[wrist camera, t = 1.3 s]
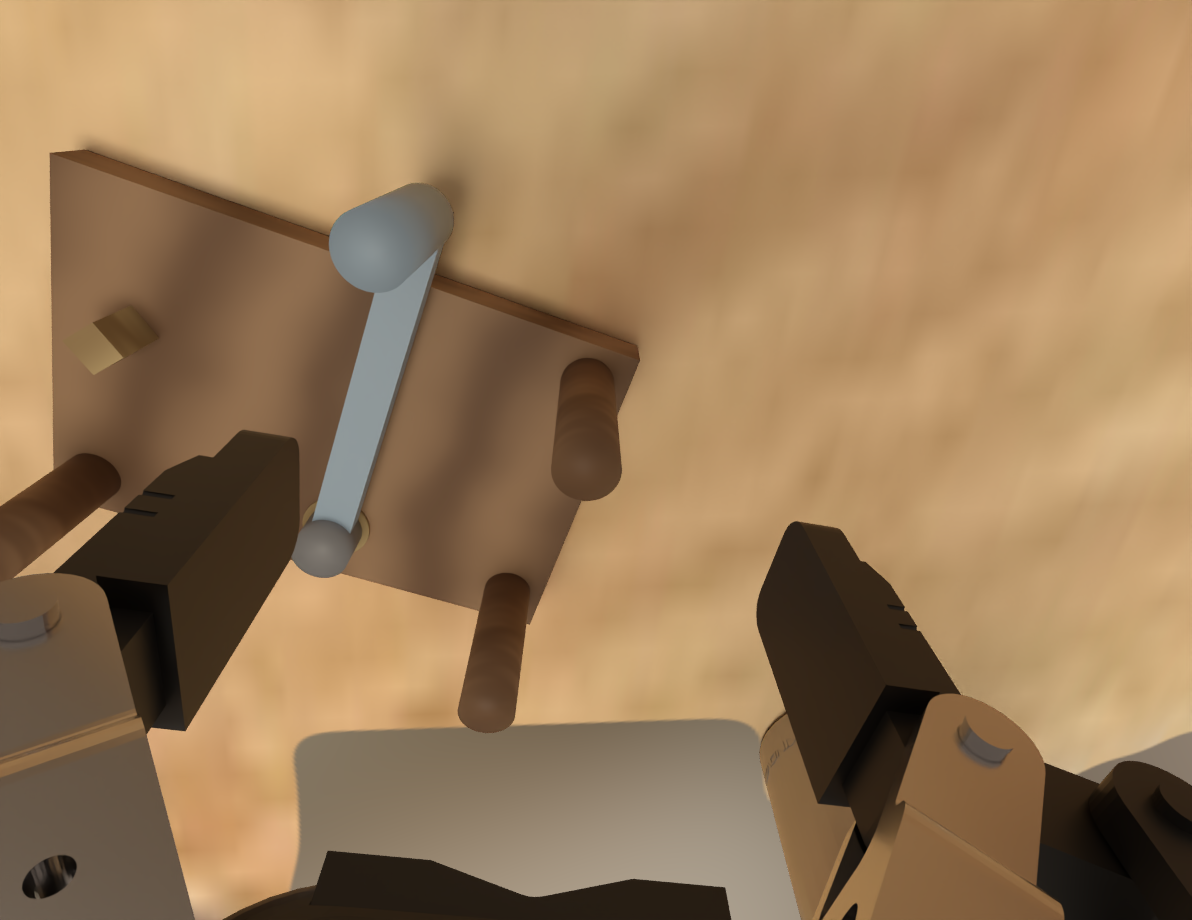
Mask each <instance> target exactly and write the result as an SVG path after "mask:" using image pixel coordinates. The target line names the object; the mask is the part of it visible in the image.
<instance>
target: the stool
mask: <svg viewBox="0 0 1192 920" xmlns="http://www.w3.org/2000/svg"><path fill="white" fill-rule="evenodd" d="M50 214H51V295H52V376H53V457H54V470H53V471H51V472H50V473H49V474H47V475H46V476H44V477H43V478H41V479H40V480H38V481H37V482H35V483H34V484H32V485H31V486H30V487H28V488H27V489H25V490H24V491H22V492H21V493H19V494H18V495H16V496H15V497H13V498H12V499H10V500H9V501H8V502H6V503H5V504H3V505H2V506H0V582H2V581H5V580H9V579H12V578H14V577H15V576H16V575H17V574H18V573H20V572H21V571H22V570H23V569H24V568H26V567H27V566H28V565H29V564H31V563H32V562H33V561H34V560H35V559H37V558H38V557H39V556H40V555H42V554H43V553H44V552H45V551H46V550H48V549H49V548H50V547H51V546H52V545H54V544H55V543H56V542H57V541H59V540H60V539H61V538H62V537H63V536H65V535H66V534H67V533H68V532H70V531H71V530H72V529H73V528H74V527H76V526H77V525H78V524H79V523H80V522H82V521H83V520H84V519H85V518H87V517H88V516H89V515H90V514H91V513H93V512H94V511H95V510H96V509H98V508H103V509H106V510H110V511H114V512H117V513H119V512H124V507H126V506H127V505H128V504H129V503H130V502H131V501H132V500H133V499H134V498H135V497H136V496H138V495H142V494H143V490H144V489H145V488H146V487H147V486H148V485H149V484H151V483H152V482H153V481H154V480H155V479H156V478H157V477H158V476H159V475H160V474H161V473H163V472H164V471H165V470H166V469H169V468H171V467H173V466H175V465H178V464H180V463H182V462H184V461H187V460H189V459H191V458H193V457H196V456H198V455H202V456H208V457H214V456H215V455H216V454H217V453H218V452H219V451H220V450H221V449H222V448H223V447H224V446H225V445H226V444H227V443H228V442H229V441H230V440H231V439H232V438H233V437H234V436H235V435H236V434H237V433H238V432H239V431H241V430H250V431H256V432H263V433H269V434H275V435H281V436H287V437H293V438H295V439H296V440H297V442H298V445H299V461H300V524H299V532H300V531H301V529H302V528H303V526H304V525H305V523H306V522H307V520H308V519H309V517H310V516H311V515H312V513H313V512H314V511H315V509H316V505H317V502H318V498H319V494H320V491H321V487H322V483H323V480H324V476H325V472H326V469H327V465H328V461H329V458H330V454H331V450H332V447H333V443H334V440H335V436H336V432H337V429H338V425H339V421H340V418H341V414H342V410H343V407H344V403H345V399H346V396H347V392H348V388H349V385H350V381H351V377H352V374H353V370H354V366H355V363H356V359H357V356H358V352H359V348H360V345H361V341H362V337H363V334H364V330H365V326H366V323H367V319H368V315H369V312H370V308H371V304H372V301H373V297H374V293H372V292H367V291H364V290H361V289H359V288H357V287H355V286H353V285H352V284H350V283H349V282H348V281H346V280H345V279H344V278H343V277H342V276H341V274H340V273H339V272H338V270H337V269H336V267H335V265H334V263H333V261H332V258H331V255H330V251H329V236H326V235H323V234H321V233H318V232H315V231H312V230H309V229H307V228H304V227H301V226H298V225H295V224H292V223H290V222H287V221H284V220H281V219H278V218H276V217H273V216H270V215H267V214H264V213H262V212H259V211H256V210H253V209H250V208H247V207H245V206H242V205H239V204H236V203H233V202H231V201H228V200H225V199H222V198H219V197H217V196H214V195H211V194H208V193H205V192H202V191H200V190H197V189H194V188H191V187H188V186H186V185H183V184H180V183H177V182H174V181H172V180H169V179H166V178H163V177H160V176H157V175H155V174H152V173H149V172H146V171H143V170H141V169H138V168H135V167H132V166H129V165H126V164H124V163H121V162H118V161H115V160H112V159H110V158H107V157H104V156H101V155H98V154H96V153H93V152H90V151H87V150H77V151H66V152H55V153H50ZM639 362H640V358H639V353H638V348H637V346H636V345H633V344H630V343H627V342H624V341H622V340H619V339H616V338H613V337H610V336H608V335H605V334H602V333H599V332H596V331H593V330H591V329H588V328H585V327H582V326H579V325H577V324H574V323H571V322H568V321H565V320H563V319H560V318H557V317H554V316H551V315H548V314H546V313H543V312H540V311H537V310H534V309H532V308H529V307H526V306H523V305H520V304H518V303H515V302H512V301H509V300H506V299H503V298H501V297H498V296H495V295H492V294H489V293H487V292H484V291H481V290H478V289H475V288H473V287H470V286H467V285H464V284H461V283H458V282H456V281H453V280H450V279H447V278H444V277H442V276H439V275H436V274H434V277H433V280H432V284H431V287H430V290H429V293H428V297H427V300H426V303H425V306H424V309H423V313H422V316H421V319H420V322H419V325H418V329H417V332H416V335H415V338H414V342H413V345H412V348H411V351H410V354H409V358H408V361H407V364H406V367H405V370H404V374H403V377H402V380H401V383H400V386H399V390H398V393H397V396H396V399H395V403H394V406H393V409H392V412H391V415H390V419H389V422H388V425H387V428H386V431H385V435H384V438H383V441H382V444H381V447H380V451H379V454H378V457H377V460H376V464H375V467H374V470H373V473H372V476H371V480H370V483H369V486H368V489H367V492H366V496H365V499H364V502H363V505H362V508H361V512H360V515H359V518H358V521H359V522H360V525H361V528H362V537H361V539H360V541H359V543H358V545H357V547H356V549H355V551H354V553H353V555H352V556H351V558H350V560H349V562H348V564H347V566H346V568H345V569H344V570H343V571H342V572H341V573H342V574H345V575H349V576H353V577H356V578H360V579H364V580H367V581H371V582H375V583H379V584H382V585H386V586H390V587H393V588H397V589H401V590H404V591H408V592H412V593H415V594H419V595H423V596H426V597H430V598H434V599H437V600H441V601H445V602H448V603H452V604H456V605H459V606H463V607H467V608H470V609H474V610H478V611H479V615H478V620H477V624H476V629H475V633H474V638H473V643H472V647H471V652H470V656H469V661H468V665H467V670H466V675H465V679H464V684H463V688H462V693H461V698H460V702H459V707H458V716H459V718H460V720H461V722H462V723H463V724H464V725H466V726H467V727H468V728H470V729H472V730H475V731H478V732H483V733H494V732H499V731H502V730H504V729H506V728H507V727H509V726H510V725H511V724H512V722H513V721H514V718H515V711H516V703H517V695H518V687H519V679H520V671H521V663H522V654H523V646H524V638H525V630H526V624H529V625H530V623H531V620H532V618H533V615H534V613H535V611H536V608H537V606H538V603H539V601H540V599H541V596H542V594H543V591H544V589H545V587H546V584H547V582H548V579H549V577H550V575H551V572H552V570H553V567H554V565H555V563H556V560H557V558H558V556H559V553H560V551H561V548H562V546H563V544H564V541H565V539H566V536H567V534H568V532H569V529H570V527H571V524H572V522H573V520H574V517H575V515H576V512H577V510H578V508H579V505H580V503H581V500H582V501H591V500H597V499H600V498H602V497H604V496H606V495H608V494H609V493H610V492H612V491H613V490H614V489H615V487H616V486H617V485H618V483H619V481H620V478H621V473H622V467H621V455H620V444H619V432H618V420H617V414H618V412H619V410H620V407H621V405H622V402H623V400H624V398H625V395H626V393H627V390H628V388H629V386H630V383H631V381H632V378H633V376H634V374H635V371H636V369H637V366H638V364H639ZM299 532H298V534H299ZM290 560H293V559H292V557H291V559H290Z"/></svg>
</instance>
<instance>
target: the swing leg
mask: <svg viewBox="0 0 1192 920" xmlns="http://www.w3.org/2000/svg"><path fill="white" fill-rule="evenodd" d="M453 213H454V212H453V211H452V208H451V205H450V203H449V202H448V200H447V199H446V197H445V196H444V195H443V194H442V193H441V192H440V191H439V190H437V189H436V188H434V187H432V186H430V185H428V184H424V183H411V184H408V185H405V186H403V187H401V188H398V189H396V190H394V191H392V192H389V193H387V194H385V195H383V196H380V197H378V198H376V199H374V200H371V201H369V202H367V203H365V204H362V205H360V206H358V207H356V208H353V209H351V210H349V211H347V212H345V213H344V214H342V215H341V216H340V217H339V218H338V219H337V220H336V222H335V223H334V225H333V227H332V229H331V232H330V237H329V251H330V255H331V258H332V261H333V263H334V265H335V267H336V269H337V270H338V272H339V273H340V274H341V276H342V277H343V278H344V279H345V280H346V281H348V282H349V283H350V284H352V285H353V286H355V287H357V288H359V289H361V290H364V291H367V292H372V293H374V297H373V301H372V304H371V308H370V312H369V315H368V319H367V323H366V326H365V330H364V334H363V337H362V341H361V345H360V348H359V352H358V356H357V359H356V363H355V366H354V370H353V374H352V377H351V381H350V385H349V388H348V392H347V396H346V399H345V403H344V407H343V410H342V414H341V418H340V421H339V425H338V429H337V432H336V436H335V440H334V443H333V447H332V450H331V454H330V458H329V461H328V465H327V469H326V472H325V476H324V480H323V483H322V487H321V491H320V494H319V498H318V502H317V505H316V509H315V511H314V512H313V513H312V515H311V516H310V517H309V519H308V520H307V522H306V523H305V525H304V526H303V528H302V529H301V531H300V532H299V534H298V538H297V542H296V546H295V549H294V552H293V554H292V559H293V561H294V563H295V564H296V565H297V566H298V567H299V568H300V569H301V570H302V571H304V572H305V573H307V574H309V575H312V576H315V577H320V578H329V577H333V576H336V575H338V574H340V573H341V572H342V571H343V570H344V569H345V568H346V566H347V564H348V562H349V560H350V558H351V556H352V555H353V553H354V551H355V549H356V547H357V545H358V543H359V541H360V539H361V537H362V528H361V525H360V522H359V521H358V518H359V515H360V512H361V508H362V505H363V502H364V499H365V496H366V492H367V489H368V486H369V483H370V480H371V476H372V473H373V470H374V467H375V464H376V460H377V457H378V454H379V451H380V447H381V444H382V441H383V438H384V435H385V431H386V428H387V425H388V422H389V419H390V415H391V412H392V409H393V406H394V403H395V399H396V396H397V393H398V390H399V386H400V383H401V380H402V377H403V374H404V370H405V367H406V364H407V361H408V358H409V354H410V351H411V348H412V345H413V342H414V338H415V335H416V332H417V329H418V325H419V322H420V319H421V316H422V313H423V309H424V306H425V303H426V300H427V297H428V293H429V290H430V287H431V284H432V280H433V277H434V274H435V271H436V268H437V264H438V261H439V258H440V255H441V252H442V248H443V245H444V243H445V242H446V241H447V240H448V239H449V237H450V235H451V233H452V230H453V226H454V216H453Z"/></svg>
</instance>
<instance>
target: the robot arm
mask: <svg viewBox="0 0 1192 920" xmlns="http://www.w3.org/2000/svg"><path fill="white" fill-rule="evenodd" d="M299 524H300V461H299V445H298V442H297V440H296V439H295V438H293V437H287V436H281V435H275V434H269V433H263V432H256V431H250V430H241V431H239V432H238V433H237V434H236V435H235V436H234V437H233V438H232V439H231V440H230V441H229V442H228V443H227V444H226V445H225V446H224V447H223V448H222V449H221V450H220V451H219V452H218V453H217V454H216V455H215V456H214V457H208V456H202V455H198V456H196V457H193V458H191V459H189V460H187V461H184V462H182V463H180V464H178V465H175V466H173V467H171V468H169V469H166V470H165V471H164V472H163V473H161V474H160V475H159V476H158V477H157V478H156V479H155V480H154V481H153V482H152V483H151V484H149V485H148V486H147V487H146V488H145V489H144V490H143V494H142V495H138V496H136V497H135V498H134V499H133V500H132V501H131V502H130V503H129V504H128V505H127V506H126V507H124V512H119V513H118V514H117V515H116V516H115V517H114V518H113V519H111V520H110V521H109V522H108V523H107V524H106V525H105V526H104V527H103V528H102V529H101V530H99V531H98V532H97V533H96V534H95V535H94V536H93V537H92V538H91V539H90V540H89V541H87V542H86V543H85V544H84V545H83V546H82V547H81V548H80V549H79V550H78V551H77V552H76V553H74V554H73V555H72V556H71V557H70V558H69V559H68V560H67V561H66V562H65V563H64V564H62V565H61V566H60V567H59V568H58V569H57V570H56V571H55V572H54V573H45V574H33V575H27V576H21V577H17V578H13V579H9V580H5V581H2V582H0V920H195V918H194V914H193V910H192V907H191V903H190V899H189V895H188V891H187V888H186V884H185V880H184V876H183V872H182V869H181V865H180V861H179V857H178V853H177V850H176V846H175V842H174V838H173V834H172V831H171V827H170V823H169V819H168V815H167V811H166V808H165V804H164V800H163V796H162V792H161V789H160V785H159V781H158V777H157V773H156V770H155V766H154V762H153V758H152V754H151V751H150V747H149V743H148V739H147V735H146V734H147V733H148V731H149V730H150V728H151V727H152V728H161V729H170V730H179V731H186V729H187V728H188V726H189V724H190V723H191V721H192V719H193V718H194V716H195V715H196V713H197V711H198V710H199V708H200V706H201V705H202V703H203V701H204V700H205V698H206V697H207V695H208V693H209V692H210V690H211V688H212V687H213V685H214V684H215V682H216V680H217V679H218V677H219V675H220V674H221V672H222V670H223V669H224V667H225V666H226V664H227V662H228V661H229V659H230V657H231V656H232V654H233V652H234V651H235V649H236V648H237V646H238V644H239V643H240V641H241V639H242V638H243V636H244V634H245V633H246V631H247V630H248V628H249V626H250V625H251V623H252V621H253V620H254V618H255V616H256V615H257V613H258V612H259V610H260V608H261V607H262V605H263V603H264V602H265V600H266V598H267V597H268V595H269V594H270V592H271V590H272V589H273V587H274V585H275V584H276V582H277V580H278V579H279V577H280V576H281V574H282V572H283V571H284V569H285V567H286V566H287V564H288V562H289V561H290V559H291V557H292V554H293V552H294V549H295V546H296V542H297V538H298V532H299ZM904 608H905V607H904V605H903V604H902V602H901V600H900V599H899V597H898V596H897V594H896V593H895V591H894V589H893V588H892V586H891V585H890V584H889V583H888V582H887V581H886V580H885V579H884V578H883V577H882V576H881V575H879V574H878V573H877V572H876V571H875V570H874V569H873V568H872V567H871V566H869V565H868V564H867V563H866V562H862V561H860V560H859V558H858V556H857V555H856V553H855V551H854V550H853V548H852V546H851V545H850V543H849V542H848V540H847V538H846V537H845V535H844V533H843V532H842V531H841V530H840V529H838V528H834V527H828V526H822V525H815V524H809V523H803V522H797V521H796V522H792V523H791V524H790V525H789V526H788V527H787V529H786V531H785V533H784V535H783V538H782V540H781V542H780V545H779V547H778V550H777V552H776V554H775V557H774V559H773V562H772V564H771V567H770V569H769V571H768V574H767V576H766V579H765V581H764V584H763V586H762V588H761V591H760V594H759V598H758V602H757V626H758V630H759V633H760V636H761V639H762V642H763V645H764V648H765V651H766V654H767V657H768V659H769V662H770V665H771V668H772V671H773V674H774V677H775V680H776V683H777V686H778V689H779V692H780V695H781V698H782V701H783V703H784V706H785V709H786V712H787V714H786V715H784V716H783V717H782V718H780V719H779V720H778V721H777V722H775V723H774V725H773V726H772V727H771V728H770V729H769V730H768V731H767V733H766V735H765V737H764V738H763V740H762V743H761V747H760V752H759V753H760V763H761V766H762V770H763V774H764V778H765V782H766V786H767V790H768V793H769V797H770V801H771V805H772V809H773V813H774V817H775V821H776V825H777V829H778V833H779V837H780V841H781V844H782V848H783V852H784V856H785V860H786V864H787V867H788V871H789V875H790V879H791V883H792V886H793V890H794V894H795V898H796V902H797V906H798V910H799V914H800V917H801V920H1192V786H1191V785H1190V784H1188V783H1186V782H1185V781H1183V780H1182V779H1180V778H1178V777H1176V776H1174V775H1173V774H1171V773H1169V772H1167V771H1164V770H1162V769H1160V768H1158V767H1155V766H1152V765H1149V764H1146V763H1142V762H1137V761H1124V762H1121V763H1118V764H1117V765H1116V766H1115V767H1114V769H1112V771H1111V772H1110V773H1109V774H1108V775H1107V776H1106V777H1105V779H1104V780H1103V781H1102V782H1101V783H1100V784H1098V783H1096V782H1093V781H1090V780H1088V779H1085V778H1083V777H1080V776H1078V775H1075V774H1072V773H1070V772H1067V771H1065V770H1062V769H1059V768H1057V767H1054V766H1052V765H1049V764H1046V763H1044V761H1043V758H1042V756H1041V754H1040V752H1039V750H1038V749H1037V747H1036V746H1035V744H1034V743H1033V742H1032V740H1031V739H1030V738H1029V737H1028V736H1027V734H1026V733H1025V732H1024V731H1023V730H1022V729H1021V728H1020V727H1019V726H1017V725H1016V724H1015V723H1014V722H1013V721H1012V720H1010V719H1009V718H1008V717H1006V716H1005V715H1004V714H1002V713H1001V712H999V711H998V710H996V709H994V708H993V707H991V706H989V705H987V704H985V703H983V702H981V701H978V700H976V699H973V698H971V697H967V696H964V695H961V694H960V693H959V691H958V689H957V688H956V686H955V685H954V683H953V682H952V680H951V678H950V677H949V675H948V674H947V672H946V671H945V669H944V668H943V666H942V664H941V663H940V661H939V660H938V658H937V657H936V655H935V654H934V652H933V650H932V649H931V647H930V646H929V644H928V643H927V641H926V639H925V638H924V636H923V635H922V633H921V632H920V631H917V629H916V628H917V625H916V624H915V622H914V621H913V619H912V618H911V616H910V614H909V613H908V612H907V611H904ZM223 920H731V916H730V911H729V905H728V900H727V895H726V890H725V888H724V887H713V886H703V885H691V884H681V883H671V882H660V881H649V880H637V879H630V880H625V881H620V882H615V883H610V884H605V885H599V886H594V887H589V888H584V889H579V890H574V891H569V892H563V893H559V894H553V895H548V896H543V897H528V896H525V895H521V894H519V893H516V892H513V891H511V890H508V889H505V888H502V887H500V886H498V885H495V884H492V883H489V882H487V881H484V880H482V879H479V878H476V877H474V876H471V875H468V874H466V873H463V872H460V871H458V870H455V869H453V868H450V867H447V866H445V865H442V864H439V863H436V862H434V861H431V860H423V859H412V858H401V857H390V856H379V855H368V854H358V853H347V852H336V851H328V852H327V855H326V858H325V861H324V864H323V867H322V870H321V873H320V876H319V880H318V883H317V885H315V886H310V887H305V888H300V889H296V890H292V891H289V892H286V893H282V894H279V895H276V896H273V897H269V898H267V899H265V900H262V901H260V902H258V903H255V904H253V905H251V906H248V907H246V908H243V909H241V910H239V911H237V912H236V913H234V914H232V915H230V916H228V917H226V918H225V919H223Z"/></svg>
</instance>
